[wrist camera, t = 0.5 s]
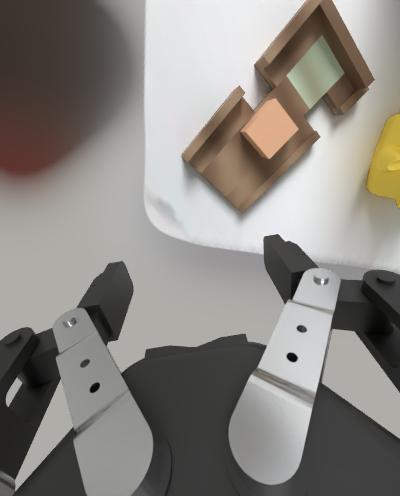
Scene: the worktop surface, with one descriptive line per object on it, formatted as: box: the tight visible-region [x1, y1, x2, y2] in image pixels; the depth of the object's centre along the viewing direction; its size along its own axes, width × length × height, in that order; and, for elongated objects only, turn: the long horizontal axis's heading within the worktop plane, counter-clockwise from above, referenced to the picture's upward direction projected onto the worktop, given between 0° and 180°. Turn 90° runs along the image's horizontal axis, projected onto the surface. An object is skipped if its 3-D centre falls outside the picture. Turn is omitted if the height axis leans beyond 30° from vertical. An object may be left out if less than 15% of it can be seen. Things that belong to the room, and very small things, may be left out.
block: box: [240, 98, 298, 159], centre depth 27 cm, size 4×4×3 cm
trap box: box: [181, 0, 374, 213], centre depth 28 cm, size 21×12×4 cm, turn 138°
